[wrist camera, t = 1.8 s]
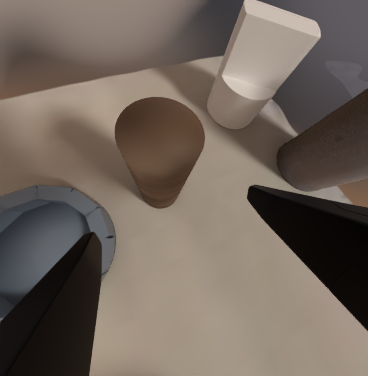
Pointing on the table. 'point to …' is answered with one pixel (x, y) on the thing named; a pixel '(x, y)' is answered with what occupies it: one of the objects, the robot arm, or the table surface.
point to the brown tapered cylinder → (159, 146)
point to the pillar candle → (329, 149)
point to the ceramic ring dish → (45, 236)
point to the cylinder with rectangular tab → (258, 61)
